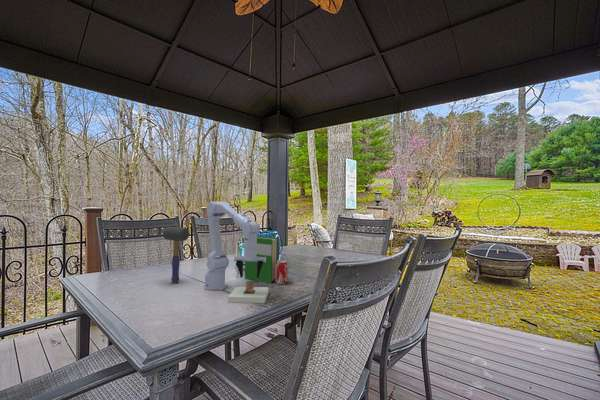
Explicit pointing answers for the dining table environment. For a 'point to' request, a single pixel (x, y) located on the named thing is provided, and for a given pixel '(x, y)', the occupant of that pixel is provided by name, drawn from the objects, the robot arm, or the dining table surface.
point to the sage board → (248, 295)
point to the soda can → (281, 272)
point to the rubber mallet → (175, 247)
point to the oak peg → (249, 287)
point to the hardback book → (267, 273)
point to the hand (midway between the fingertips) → (249, 277)
